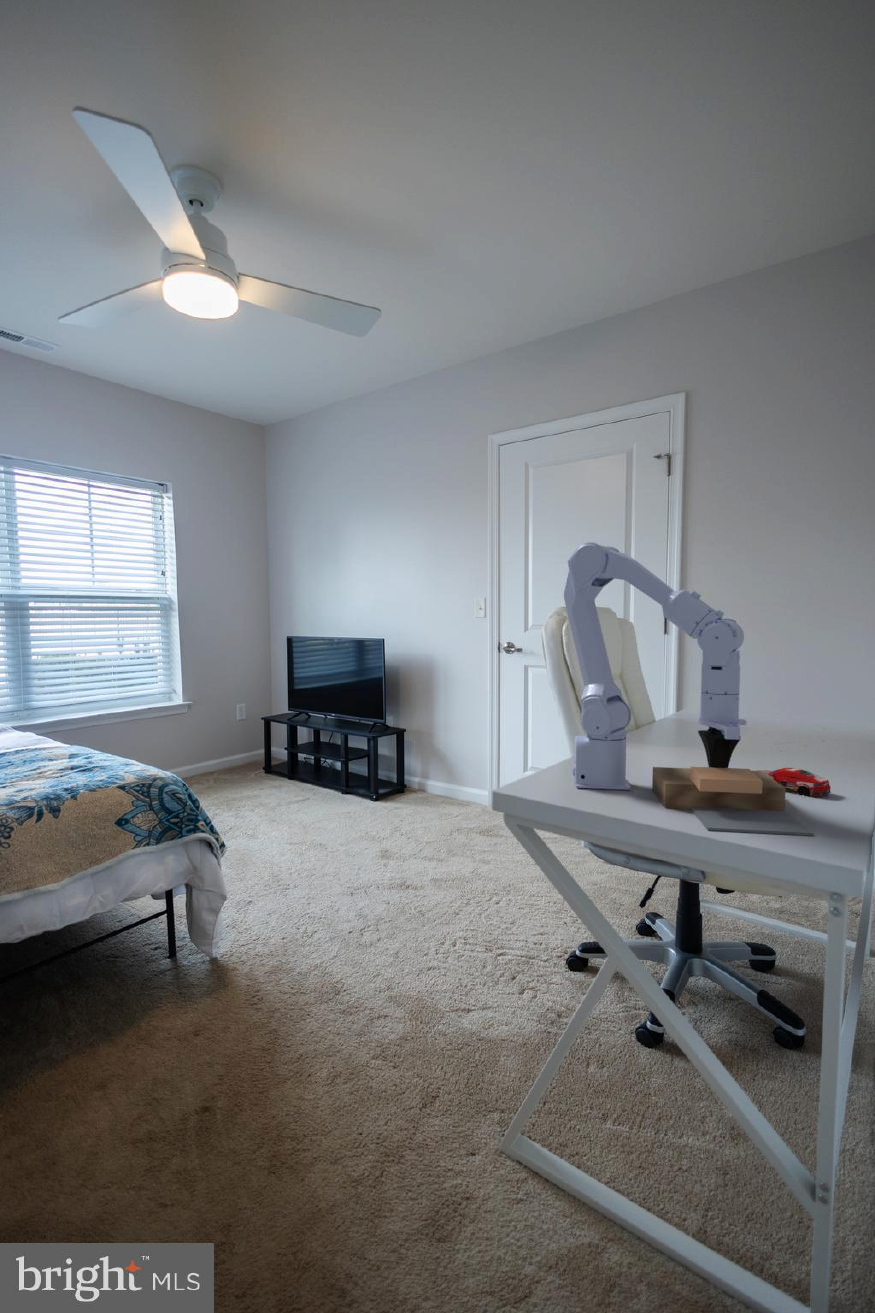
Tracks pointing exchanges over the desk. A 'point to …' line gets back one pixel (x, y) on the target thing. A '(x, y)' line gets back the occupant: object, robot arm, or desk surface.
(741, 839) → the desk surface
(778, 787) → the brown wooden flat block
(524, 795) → the desk surface
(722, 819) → the mat
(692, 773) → the tan wooden block
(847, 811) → the desk surface
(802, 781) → the race car
